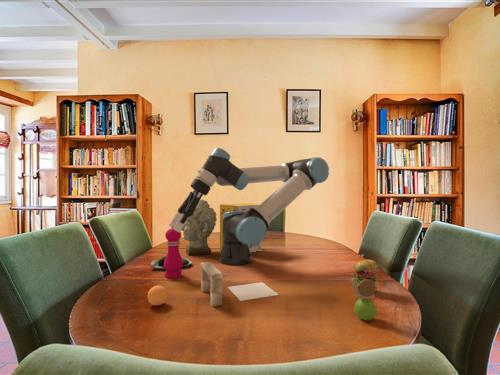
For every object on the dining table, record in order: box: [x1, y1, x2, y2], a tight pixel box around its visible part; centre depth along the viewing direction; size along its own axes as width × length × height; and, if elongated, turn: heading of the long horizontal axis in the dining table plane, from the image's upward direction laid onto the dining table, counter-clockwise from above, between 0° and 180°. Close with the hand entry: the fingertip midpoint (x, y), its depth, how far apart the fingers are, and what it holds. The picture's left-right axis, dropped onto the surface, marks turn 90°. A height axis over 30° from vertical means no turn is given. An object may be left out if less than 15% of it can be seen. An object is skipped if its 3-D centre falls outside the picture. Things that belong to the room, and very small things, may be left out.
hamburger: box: [353, 253, 379, 294], centre depth 97 cm, size 8×7×12 cm
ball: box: [147, 285, 168, 307], centre depth 86 cm, size 6×6×6 cm
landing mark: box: [227, 281, 280, 302], centre depth 97 cm, size 13×13×1 cm
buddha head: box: [181, 198, 218, 256], centre depth 155 cm, size 17×19×28 cm
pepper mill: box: [164, 224, 183, 279], centre depth 114 cm, size 7×7×20 cm
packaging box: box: [219, 203, 263, 253], centre depth 159 cm, size 16×16×25 cm
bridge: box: [200, 261, 223, 307], centre depth 92 cm, size 3×14×9 cm, turn 22°
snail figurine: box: [351, 273, 378, 321], centre depth 76 cm, size 5×6×12 cm
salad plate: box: [150, 254, 193, 272], centre depth 131 cm, size 19×18×5 cm
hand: (173, 229), depth 112 cm, fingers open, 13 cm apart
